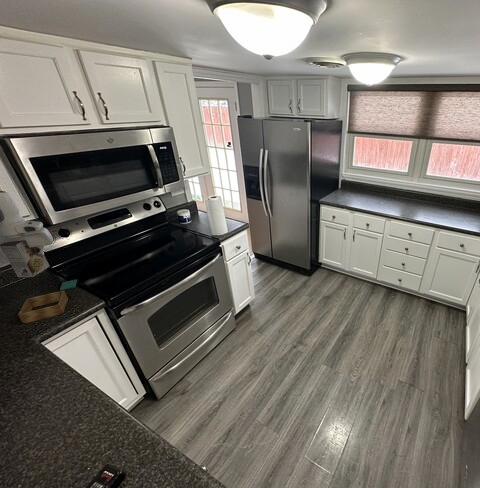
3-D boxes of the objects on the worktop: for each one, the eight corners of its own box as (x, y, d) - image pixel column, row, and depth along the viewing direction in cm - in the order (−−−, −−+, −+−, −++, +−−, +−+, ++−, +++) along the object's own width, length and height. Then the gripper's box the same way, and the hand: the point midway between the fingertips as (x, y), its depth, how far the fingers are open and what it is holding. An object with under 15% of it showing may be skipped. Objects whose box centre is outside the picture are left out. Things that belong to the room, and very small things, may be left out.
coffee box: (35, 266, 122) (18, 235, 115) (50, 266, 123) (35, 235, 116) (16, 277, 114) (-2, 244, 107) (33, 277, 115) (15, 244, 108)
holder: (22, 324, 115) (17, 315, 113) (31, 307, 125) (26, 298, 123) (63, 313, 122) (58, 304, 120) (68, 298, 132) (64, 290, 129)
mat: (60, 290, 137) (59, 289, 137) (62, 283, 143) (62, 282, 143) (75, 287, 140) (74, 286, 140) (77, 280, 146) (77, 279, 146)
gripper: (-30, 235, 102) (-11, 266, 108) (43, 226, 112) (56, 254, 118) (-23, 230, 107) (-5, 260, 113) (46, 221, 117) (59, 249, 123)
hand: (27, 257), depth 116 cm, fingers closed on coffee box, 8 cm apart
